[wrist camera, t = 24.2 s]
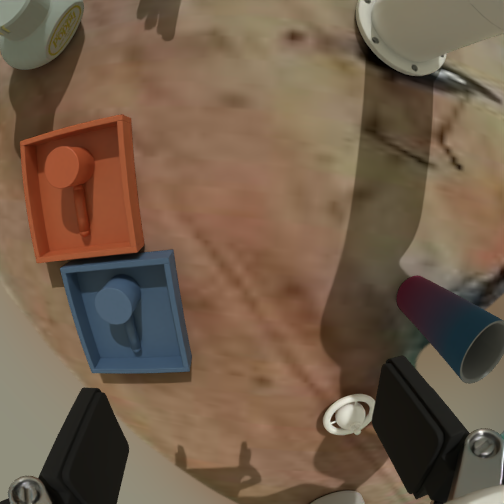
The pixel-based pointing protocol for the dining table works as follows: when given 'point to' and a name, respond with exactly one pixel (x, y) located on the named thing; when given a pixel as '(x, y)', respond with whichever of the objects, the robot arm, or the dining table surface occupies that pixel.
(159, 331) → the slate bin
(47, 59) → the air freshener
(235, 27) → the dining table surface
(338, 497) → the cylinder vase
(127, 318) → the blue handled cylinder
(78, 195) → the orange toy mallet
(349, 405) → the ring around a ball
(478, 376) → the cup
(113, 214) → the terracotta bin
